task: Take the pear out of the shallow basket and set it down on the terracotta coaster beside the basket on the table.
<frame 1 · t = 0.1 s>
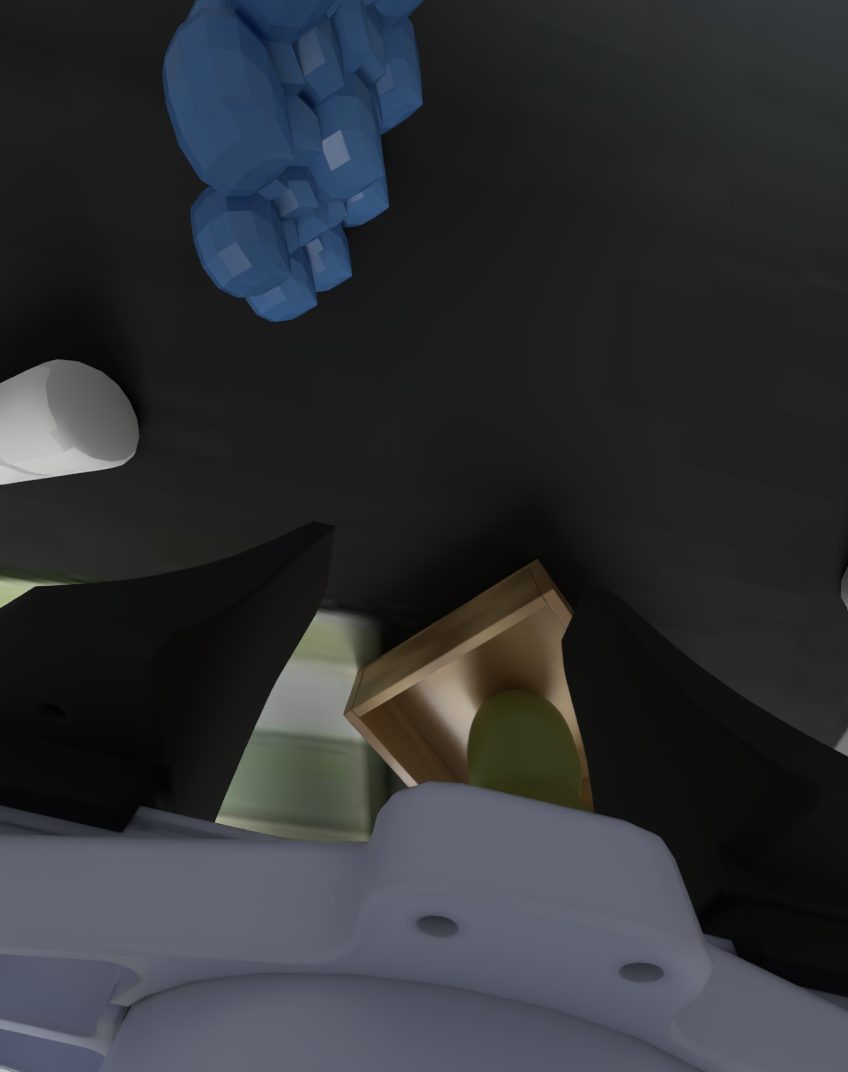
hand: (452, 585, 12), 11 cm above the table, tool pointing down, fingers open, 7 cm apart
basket: (512, 706, 26), on the table
pear: (512, 708, 26), resting on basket
grapes: (338, 194, 19), on the table
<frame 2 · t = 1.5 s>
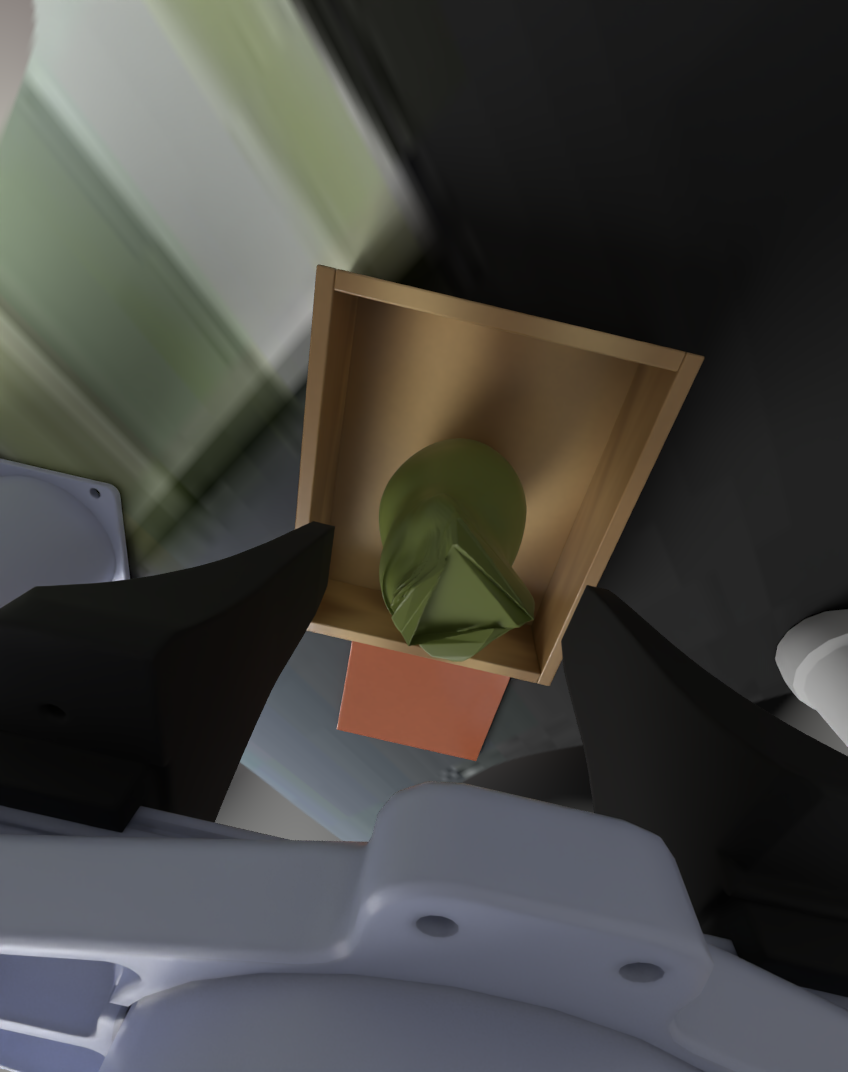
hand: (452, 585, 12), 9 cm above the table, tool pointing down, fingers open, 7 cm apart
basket: (458, 483, 20), on the table
coaster: (421, 690, 26), on the table
pear: (458, 484, 20), resting on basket
bottle: (824, 645, 22), on the table
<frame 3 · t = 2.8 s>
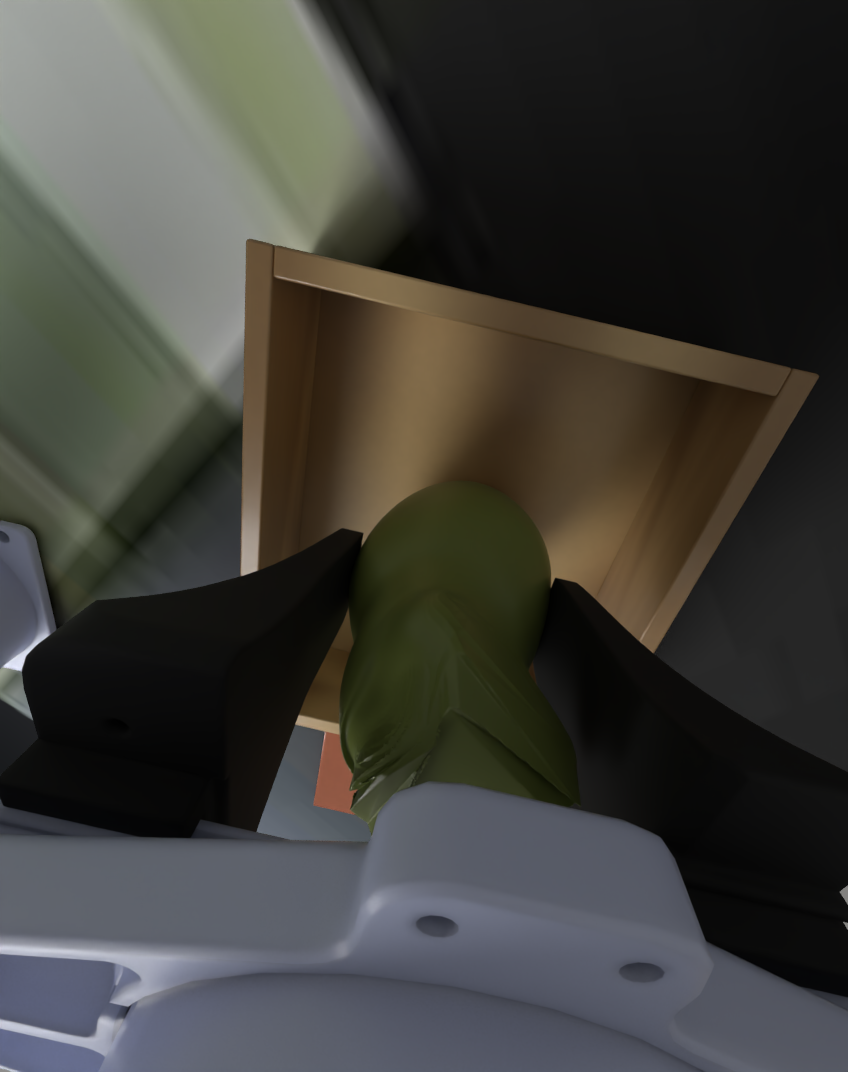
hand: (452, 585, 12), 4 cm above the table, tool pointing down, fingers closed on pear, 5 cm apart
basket: (457, 528, 16), on the table
coaster: (413, 764, 22), on the table
pear: (459, 531, 16), resting on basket, touching gripper
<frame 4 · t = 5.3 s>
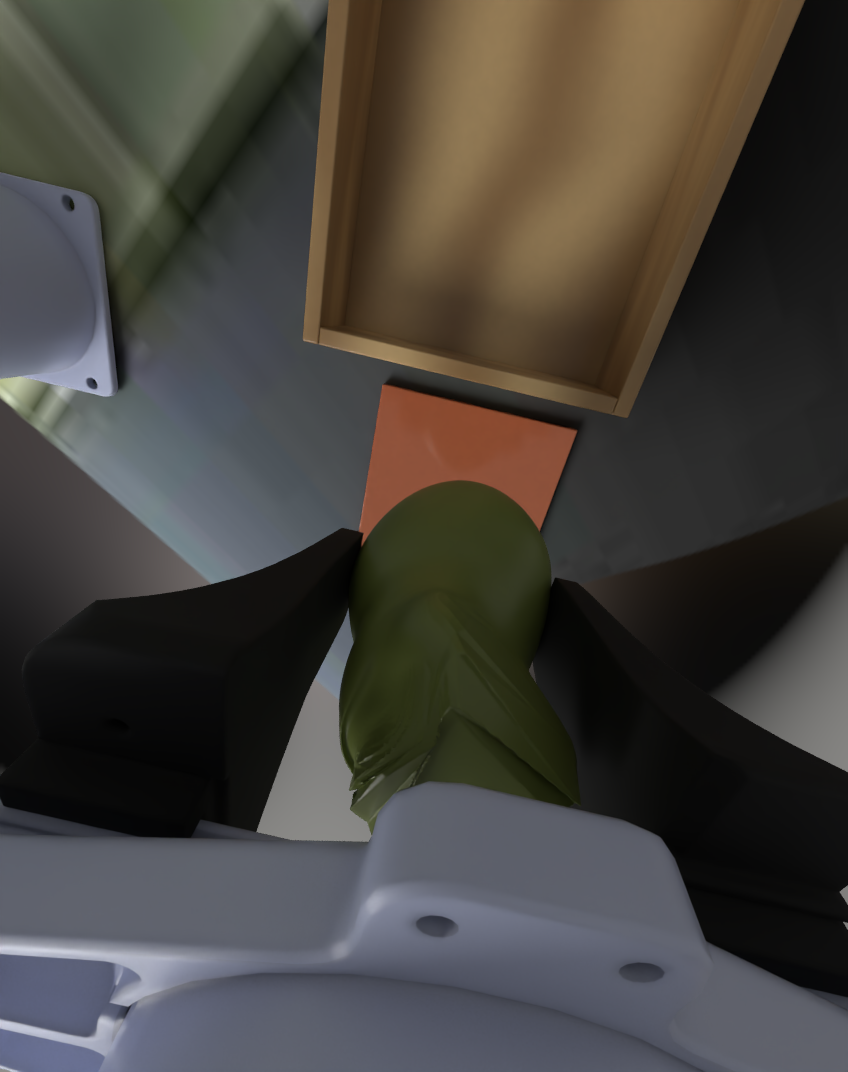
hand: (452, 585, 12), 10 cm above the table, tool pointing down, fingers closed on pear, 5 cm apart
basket: (515, 168, 16), on the table
coaster: (456, 495, 22), on the table
pear: (459, 530, 15), point 7 cm above the table, touching gripper
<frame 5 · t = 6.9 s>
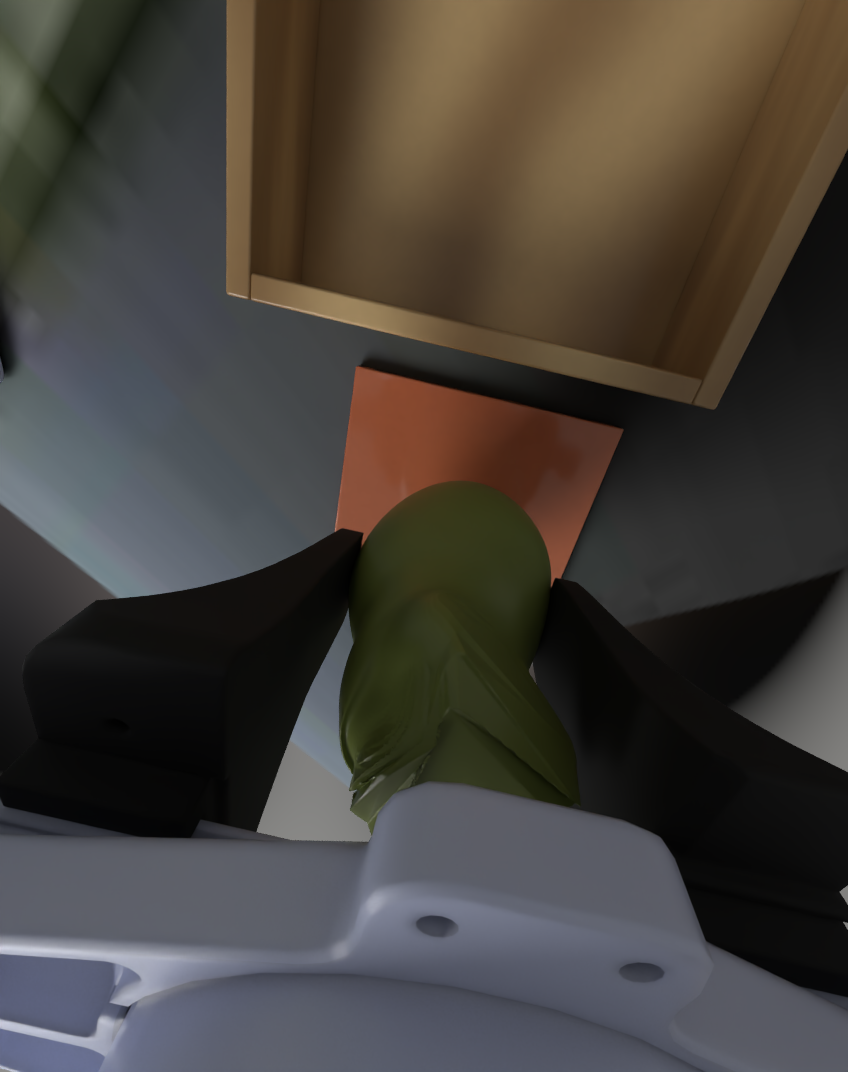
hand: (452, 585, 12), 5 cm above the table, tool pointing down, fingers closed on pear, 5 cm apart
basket: (545, 36, 11), on the table
coaster: (457, 515, 17), on the table
pear: (459, 531, 15), point 1 cm above the table, touching gripper
when the fingers open (4 cm above the table, at t = 7.8 s): pear stays where it is, resting on coaster.
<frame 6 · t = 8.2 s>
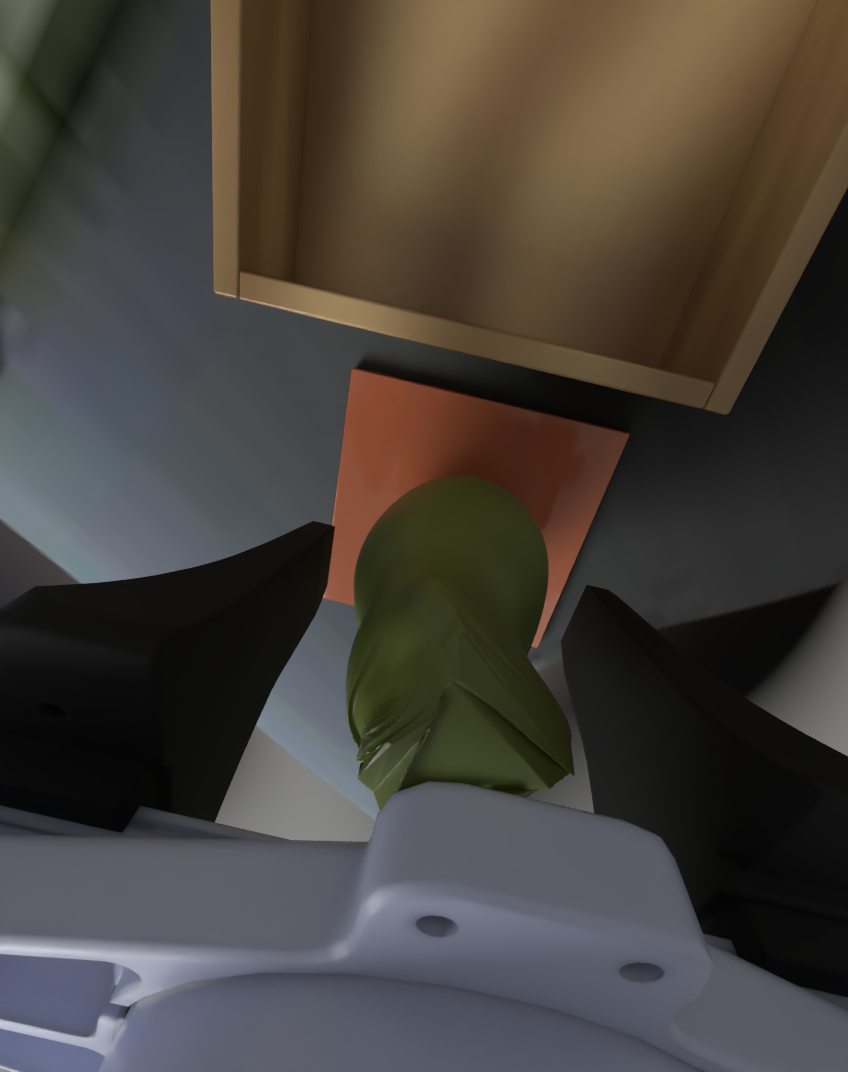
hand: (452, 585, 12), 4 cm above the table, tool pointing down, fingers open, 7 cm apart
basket: (549, 21, 10), on the table
coaster: (457, 522, 16), on the table
pear: (459, 525, 16), resting on coaster
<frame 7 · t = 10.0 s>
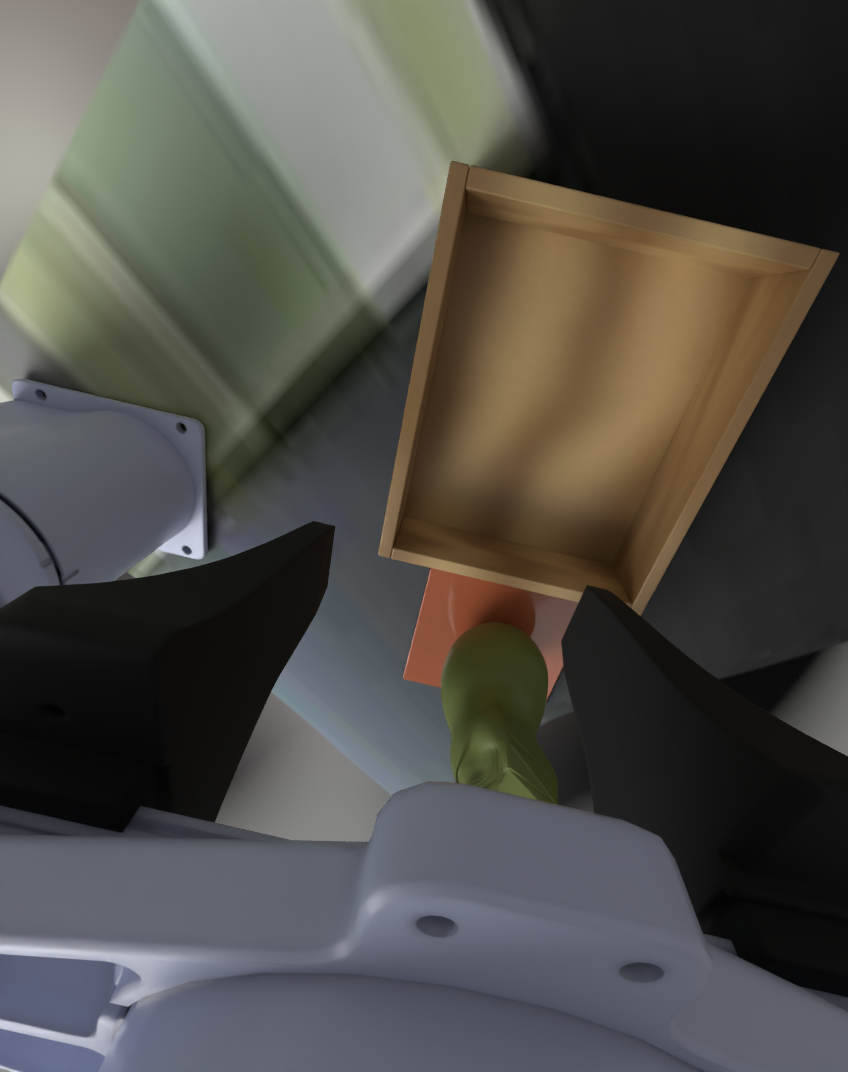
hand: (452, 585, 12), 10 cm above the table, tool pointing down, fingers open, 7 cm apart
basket: (549, 413, 20), on the table
coaster: (491, 636, 26), on the table
pear: (493, 639, 26), resting on coaster
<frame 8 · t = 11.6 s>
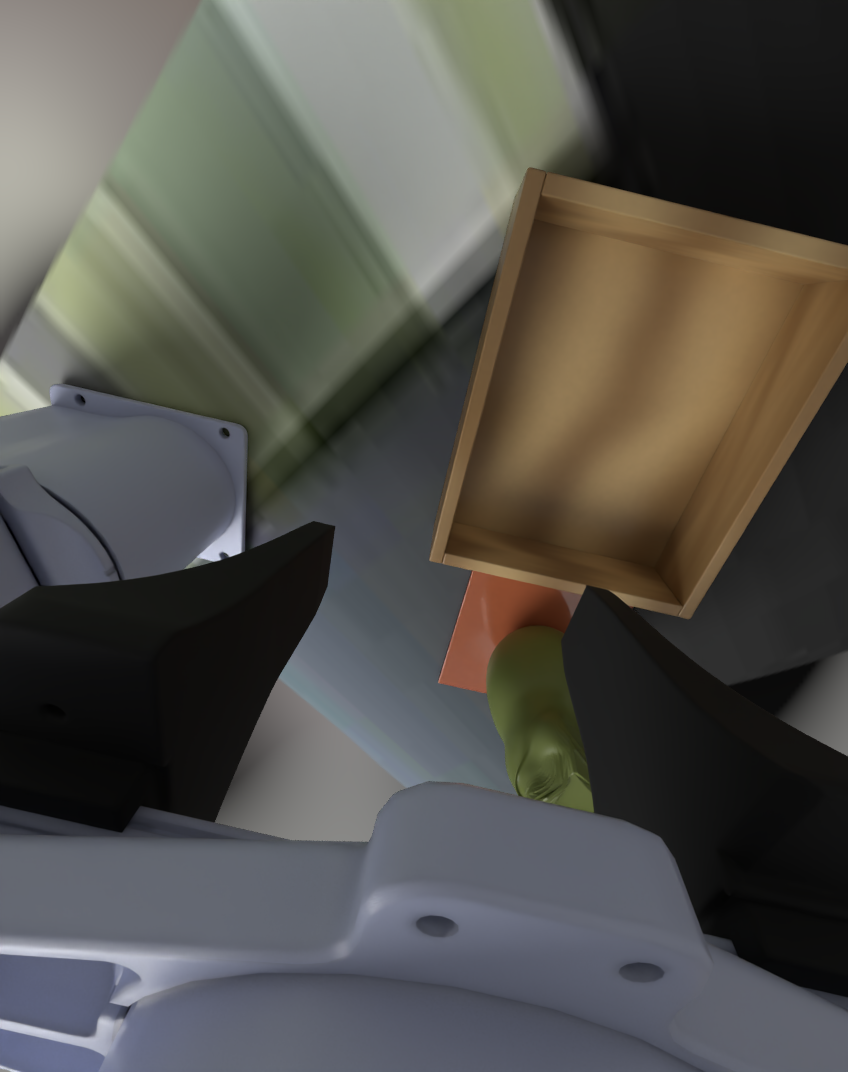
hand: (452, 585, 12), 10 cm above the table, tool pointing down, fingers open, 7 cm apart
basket: (598, 418, 20), on the table
coaster: (529, 639, 26), on the table
pear: (531, 642, 26), resting on coaster
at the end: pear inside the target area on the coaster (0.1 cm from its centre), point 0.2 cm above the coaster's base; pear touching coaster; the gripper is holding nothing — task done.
